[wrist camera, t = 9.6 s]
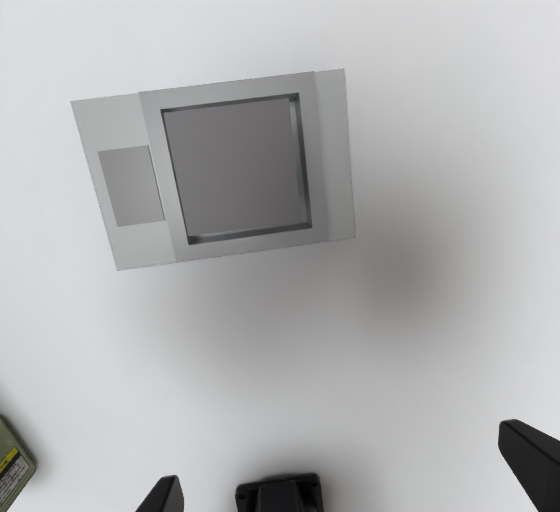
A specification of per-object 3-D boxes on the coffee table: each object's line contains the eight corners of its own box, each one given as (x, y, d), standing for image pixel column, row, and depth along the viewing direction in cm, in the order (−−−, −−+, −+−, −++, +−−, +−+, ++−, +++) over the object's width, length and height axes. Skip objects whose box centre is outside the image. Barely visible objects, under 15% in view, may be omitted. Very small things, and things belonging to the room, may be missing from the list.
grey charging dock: (350, 234, 19) (365, 244, 17) (124, 266, 19) (102, 281, 16) (339, 74, 17) (354, 55, 14) (81, 105, 16) (46, 91, 14)
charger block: (288, 207, 18) (301, 221, 12) (209, 217, 17) (188, 236, 12) (278, 121, 16) (288, 95, 11) (193, 131, 16) (163, 110, 11)
